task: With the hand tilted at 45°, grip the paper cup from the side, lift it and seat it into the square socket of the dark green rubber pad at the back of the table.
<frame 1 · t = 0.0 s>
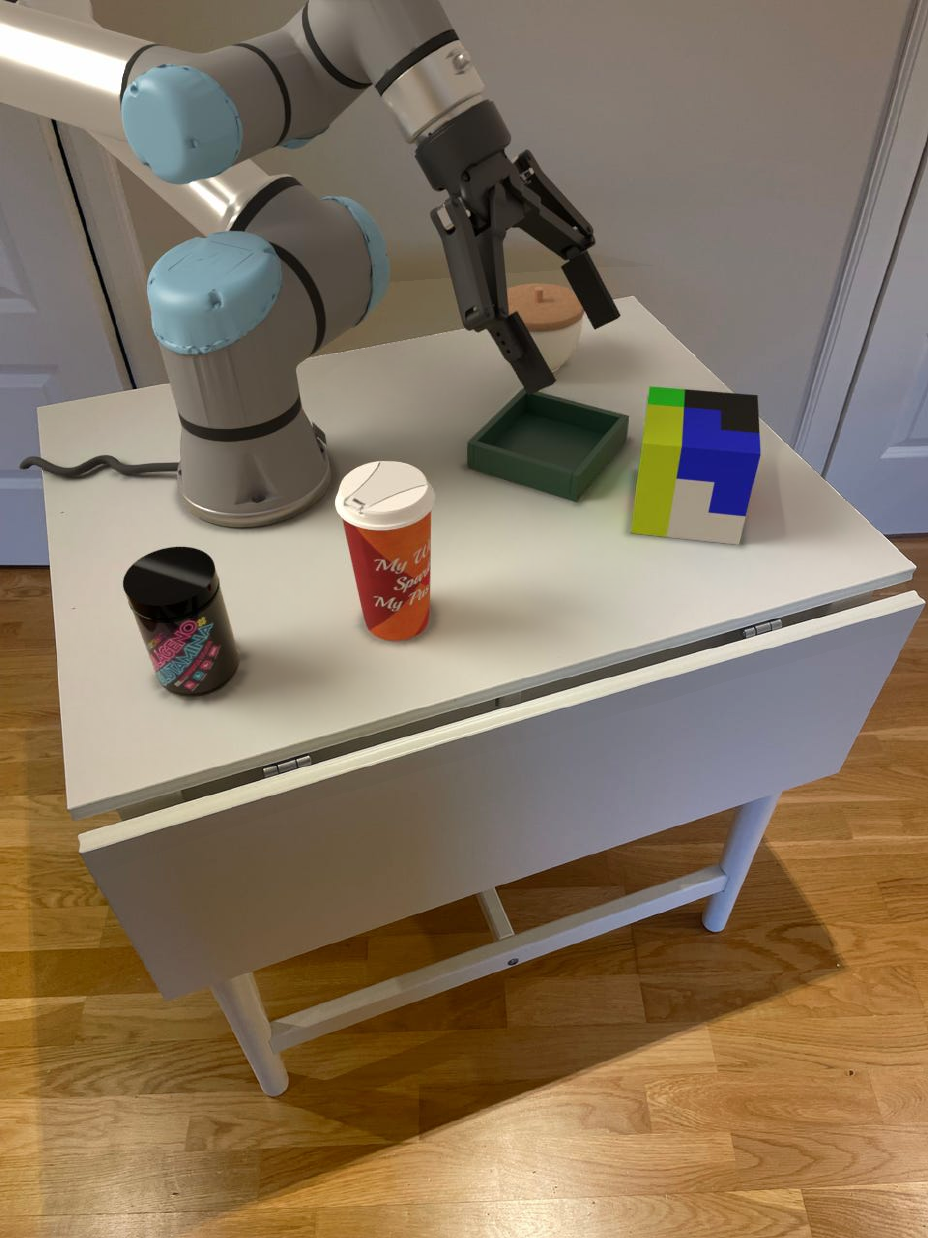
hand: (576, 354, 80), 15 cm above the table, tool tilted 35°, fingers open, 13 cm apart
supplement container: (200, 672, 75), on the table
trinket box: (536, 364, 111), on the table
paper cup: (397, 619, 79), on the table
pad socket: (548, 454, 96), on the table
puzzle toy: (685, 509, 89), on the table
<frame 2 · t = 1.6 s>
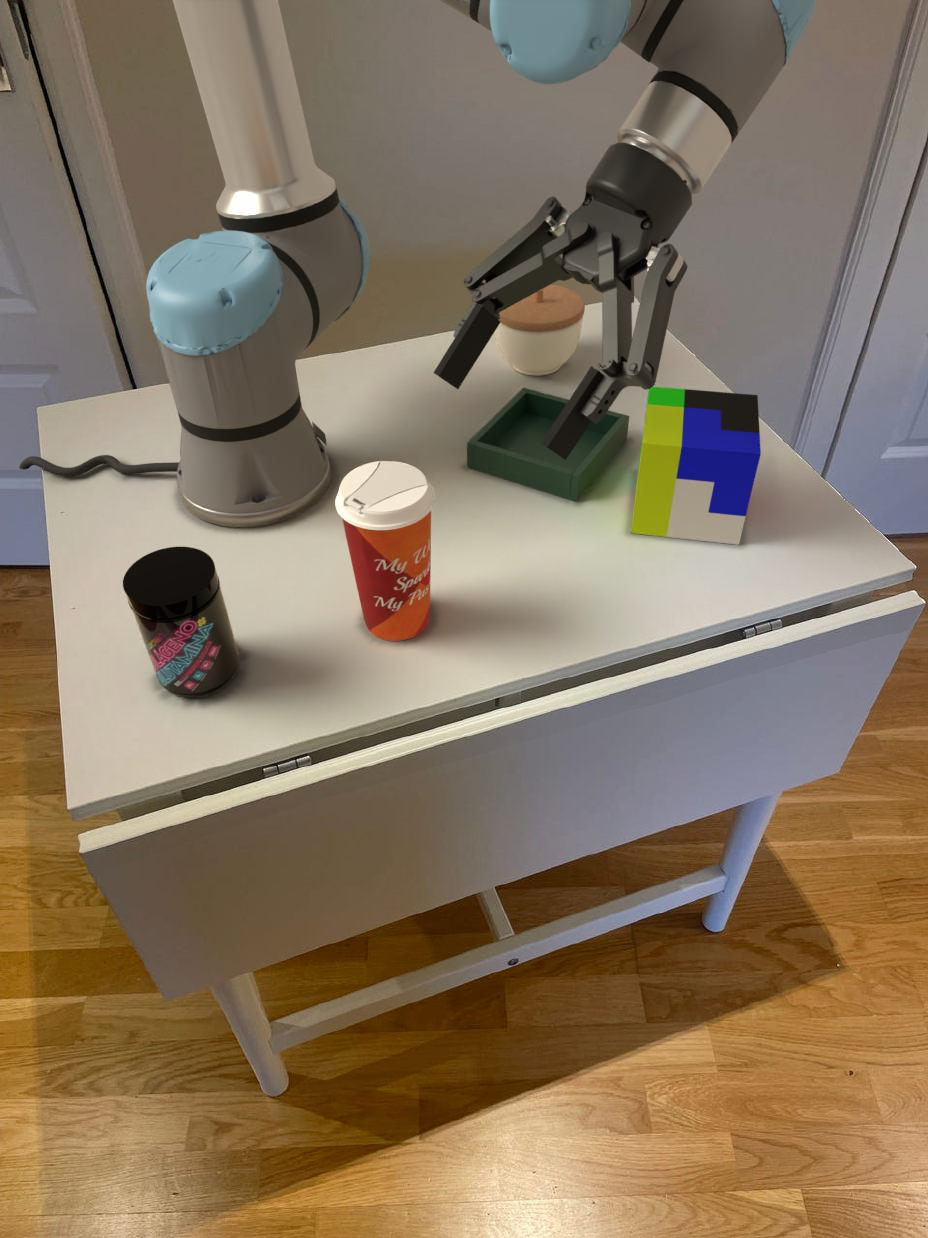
hand: (496, 414, 72), 16 cm above the table, tool tilted 45°, fingers open, 13 cm apart
nothing on the table moved.
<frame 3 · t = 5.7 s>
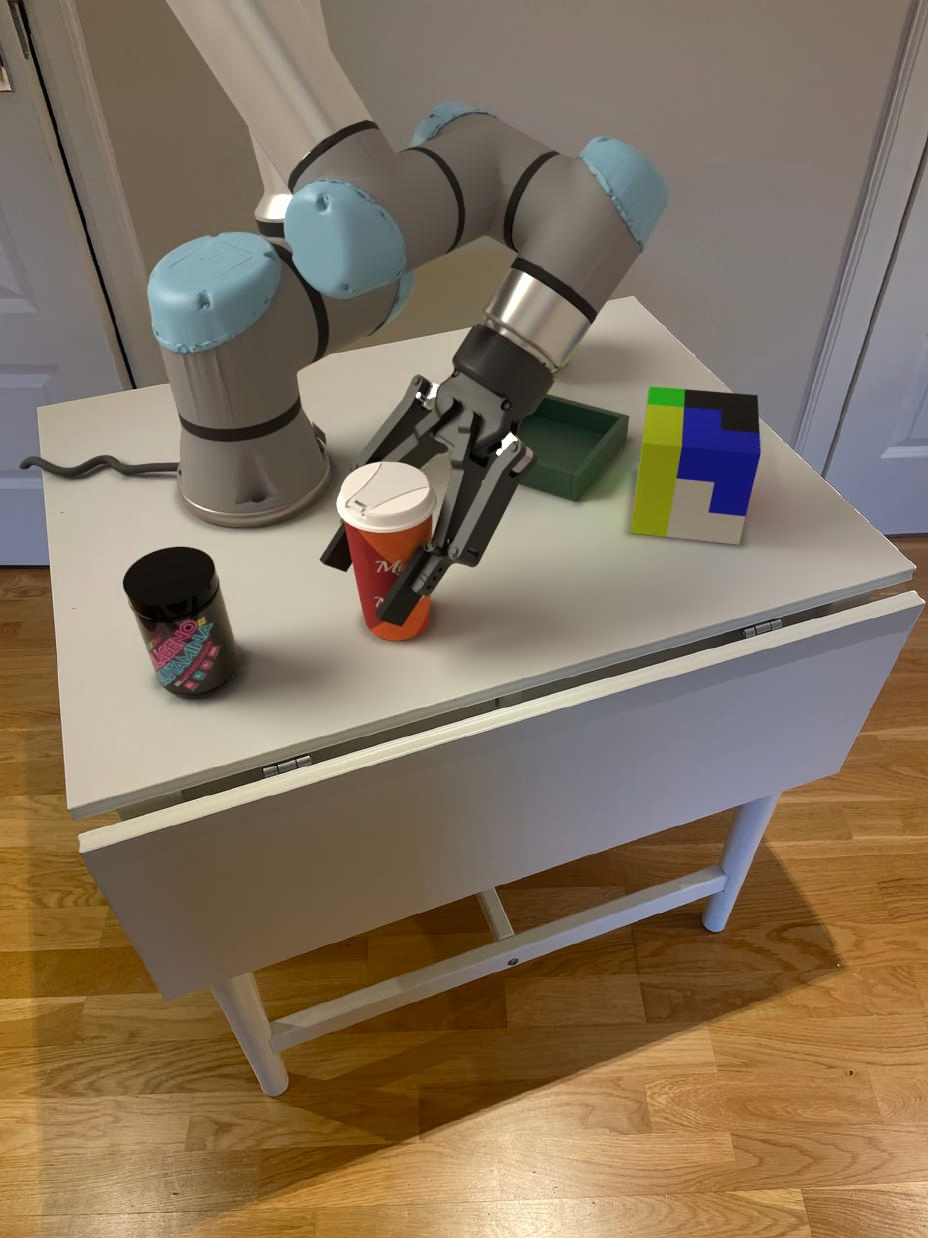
hand: (359, 592, 73), 5 cm above the table, tool tilted 45°, fingers closed on paper cup, 8 cm apart
paper cup: (397, 619, 79), on the table, touching gripper
everything else where it was.
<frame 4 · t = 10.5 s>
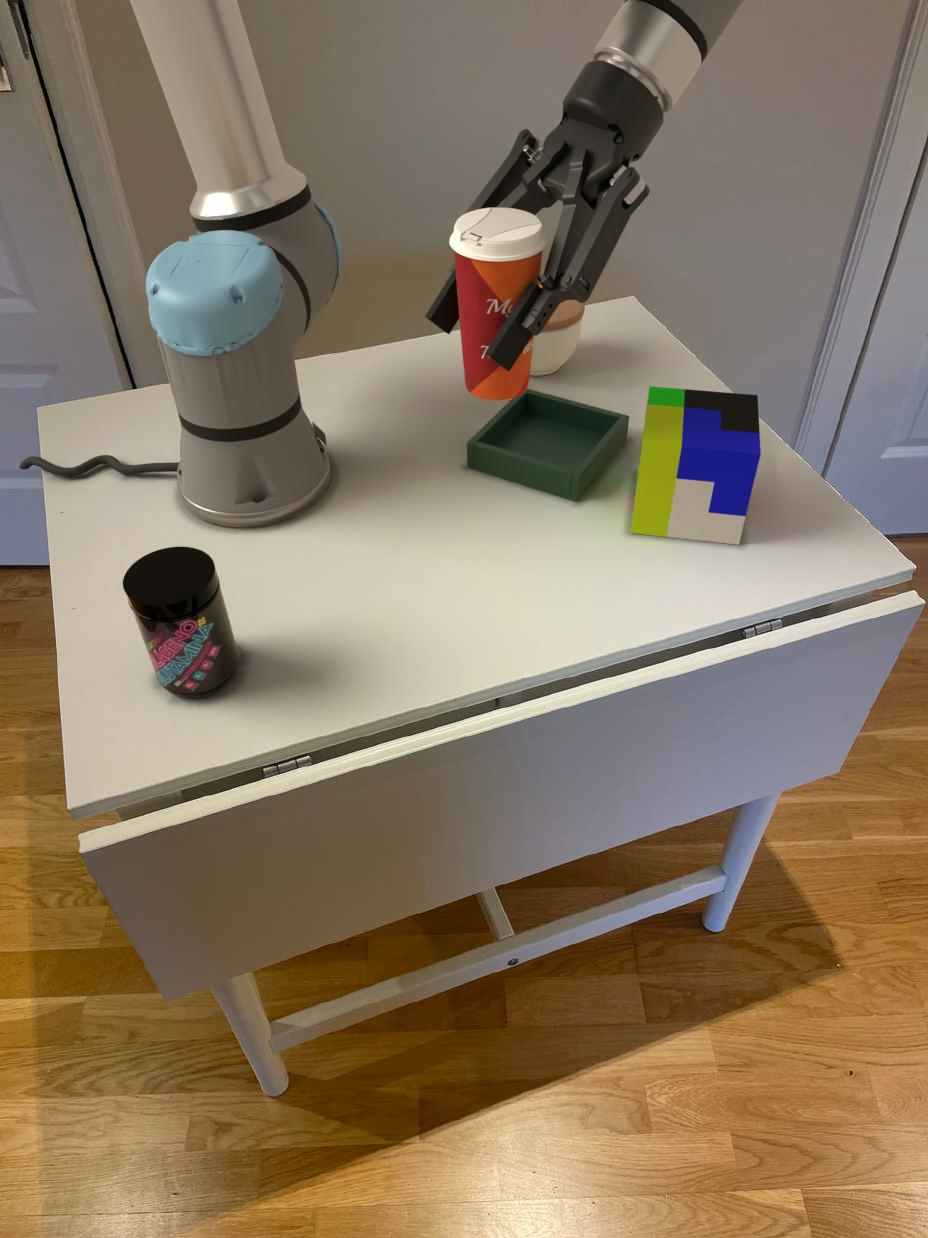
hand: (466, 343, 75), 19 cm above the table, tool tilted 45°, fingers closed on paper cup, 8 cm apart
paper cup: (497, 385, 80), point 13 cm above the table, touching gripper
everything else where it was.
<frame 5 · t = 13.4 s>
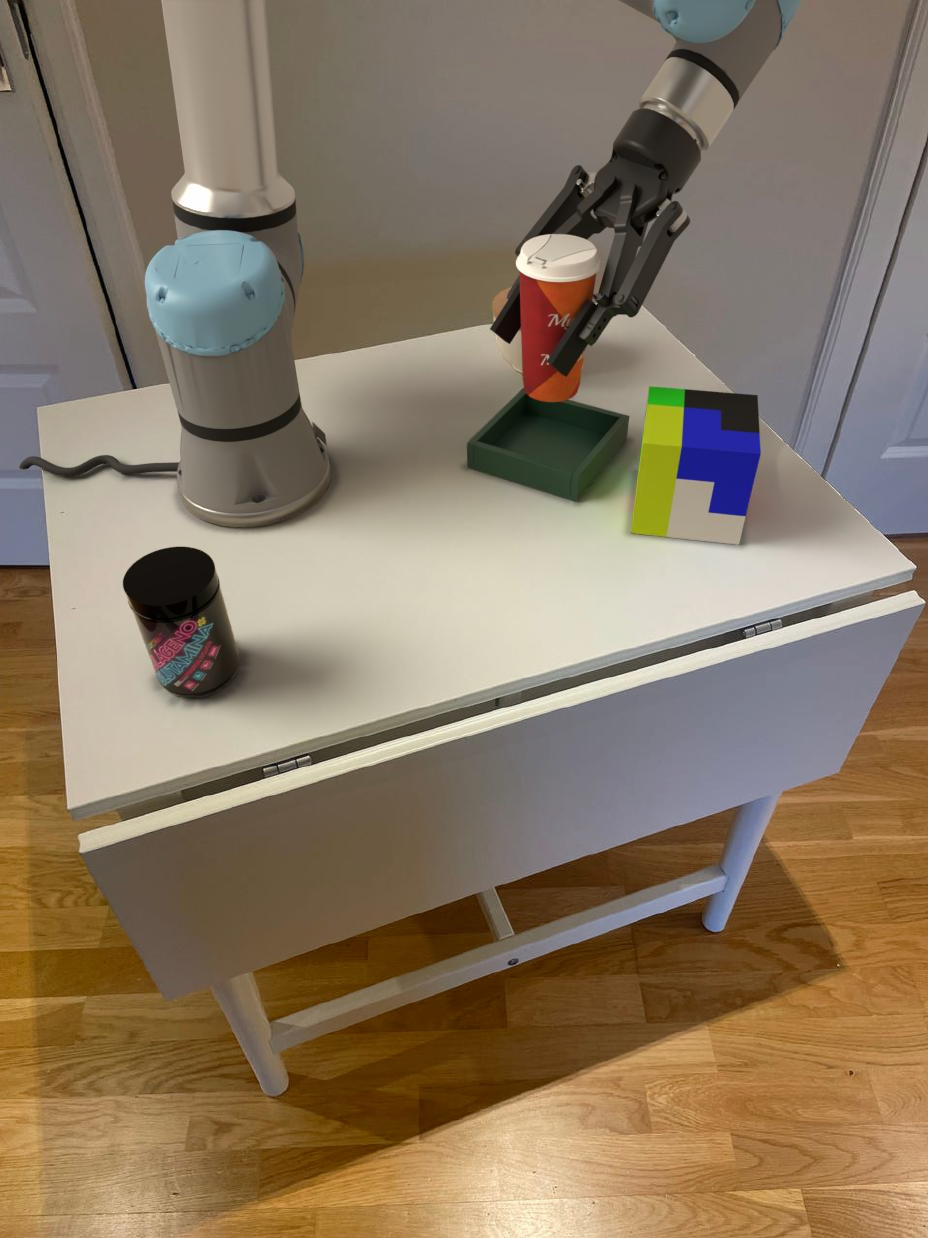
hand: (527, 352, 86), 13 cm above the table, tool tilted 45°, fingers closed on paper cup, 8 cm apart
paper cup: (551, 388, 91), point 8 cm above the table, touching gripper
everything else where it was.
when the fingers open (6 cm above the table, at t = 15.8 s): paper cup stays where it is, resting on pad socket.
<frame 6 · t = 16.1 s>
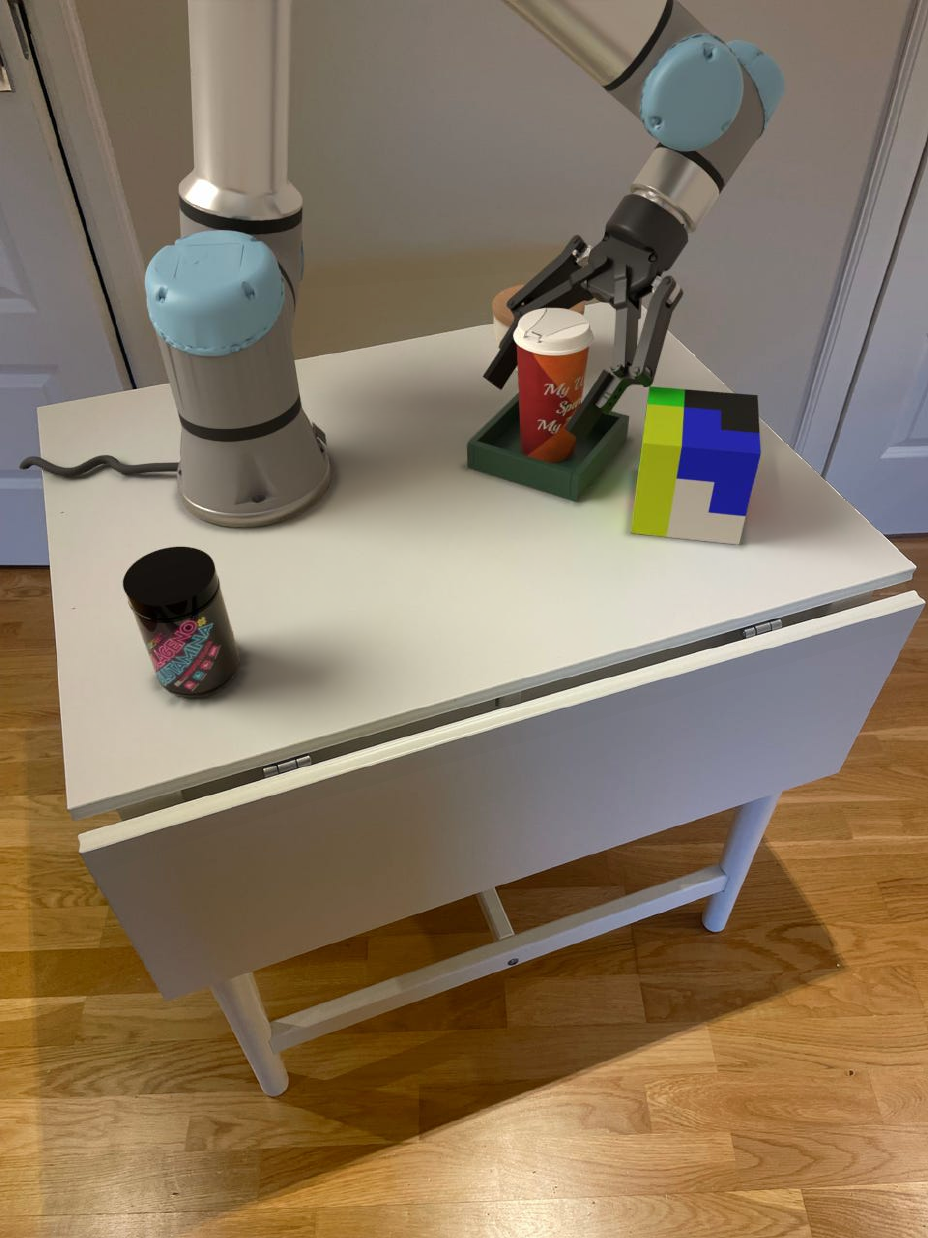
hand: (530, 408, 91), 6 cm above the table, tool tilted 45°, fingers open, 12 cm apart
paper cup: (548, 449, 96), resting on pad socket
everything else where it was.
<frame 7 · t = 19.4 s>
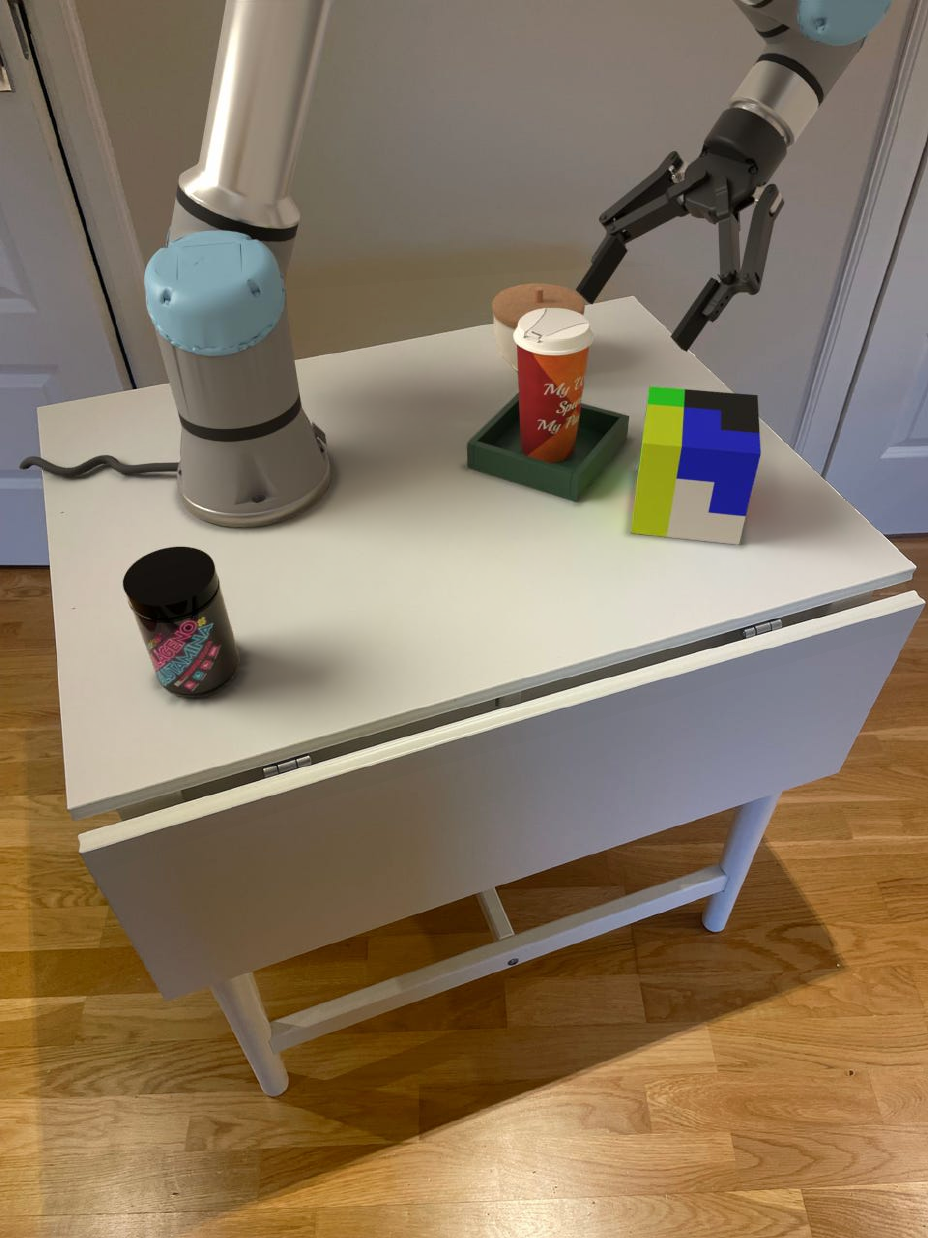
hand: (628, 320, 92), 12 cm above the table, tool tilted 45°, fingers open, 13 cm apart
nothing on the table moved.
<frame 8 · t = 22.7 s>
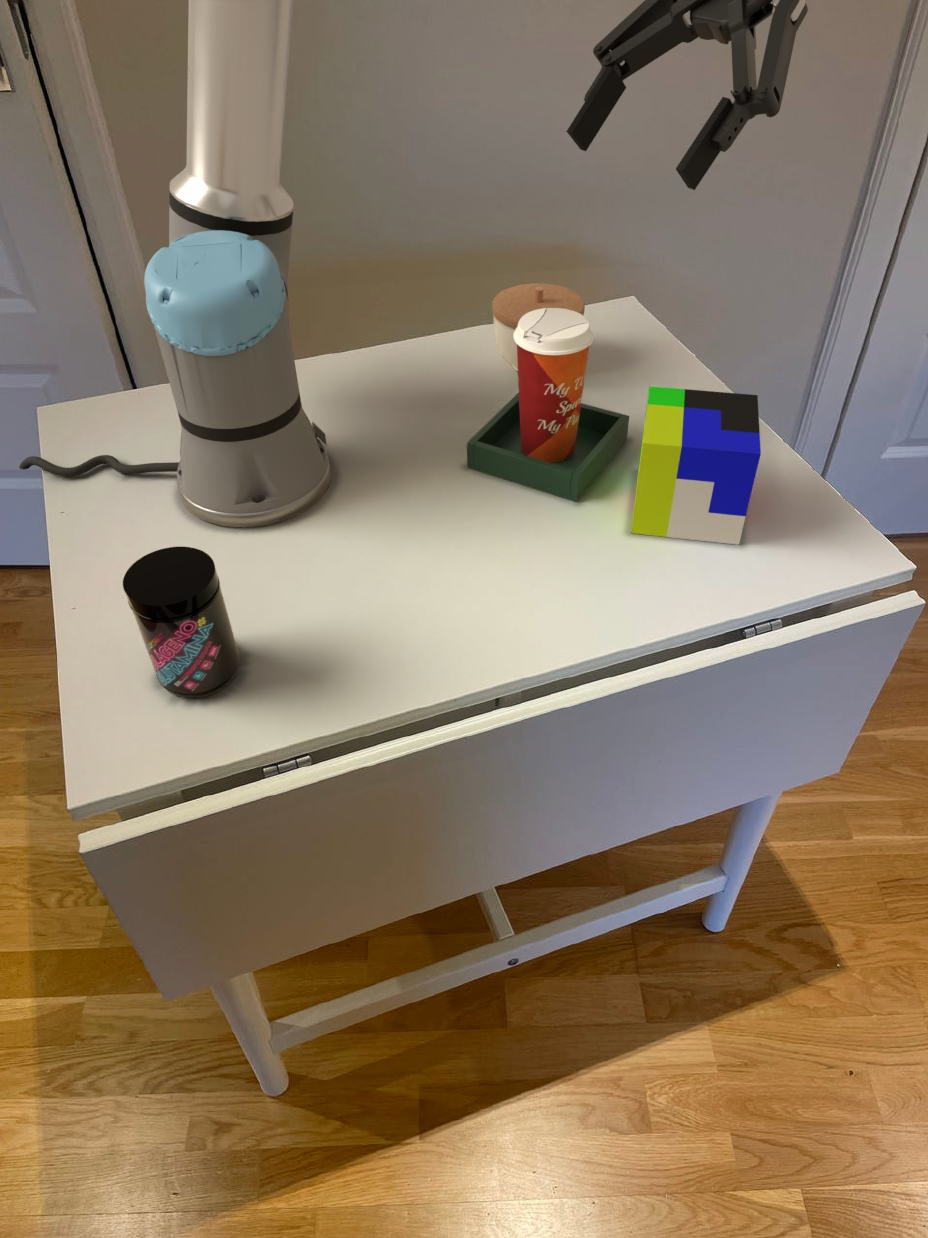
hand: (627, 159, 80), 28 cm above the table, tool tilted 45°, fingers open, 13 cm apart
nothing on the table moved.
at the end: paper cup 0.2 cm off-centre in the pad socket, point 0.4 cm above the pad socket's base; paper cup tilted 0° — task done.
